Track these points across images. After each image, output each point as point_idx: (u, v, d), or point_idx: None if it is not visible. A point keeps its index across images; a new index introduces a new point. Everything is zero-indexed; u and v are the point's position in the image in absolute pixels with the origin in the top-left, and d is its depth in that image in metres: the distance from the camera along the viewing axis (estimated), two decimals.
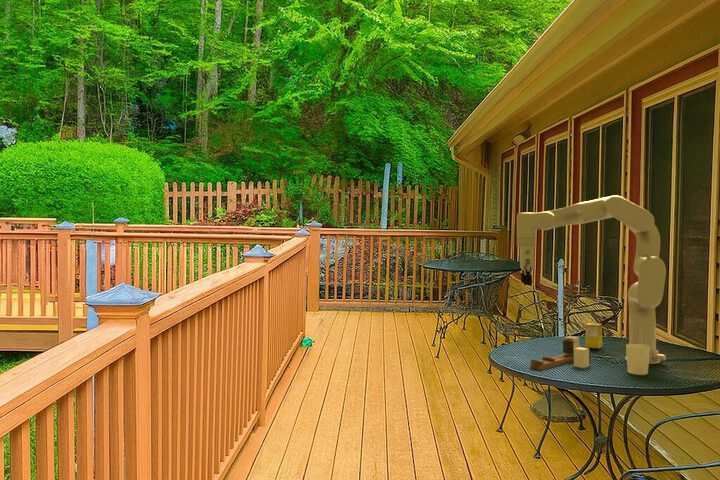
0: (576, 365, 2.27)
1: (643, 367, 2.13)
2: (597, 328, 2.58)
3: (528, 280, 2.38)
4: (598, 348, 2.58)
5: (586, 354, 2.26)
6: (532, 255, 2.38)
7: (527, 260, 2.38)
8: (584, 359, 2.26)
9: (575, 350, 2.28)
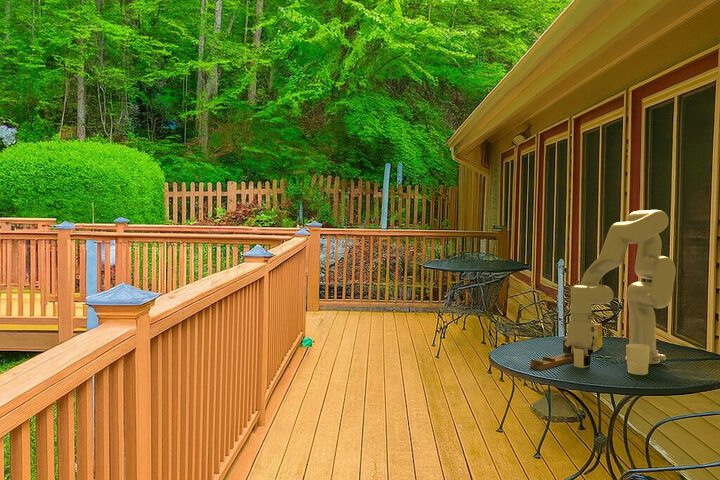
0: (576, 365, 2.27)
1: (643, 367, 2.13)
2: (597, 328, 2.58)
3: (589, 361, 2.25)
4: None
5: None
6: (595, 331, 2.25)
7: (593, 340, 2.24)
8: None
9: (575, 350, 2.28)
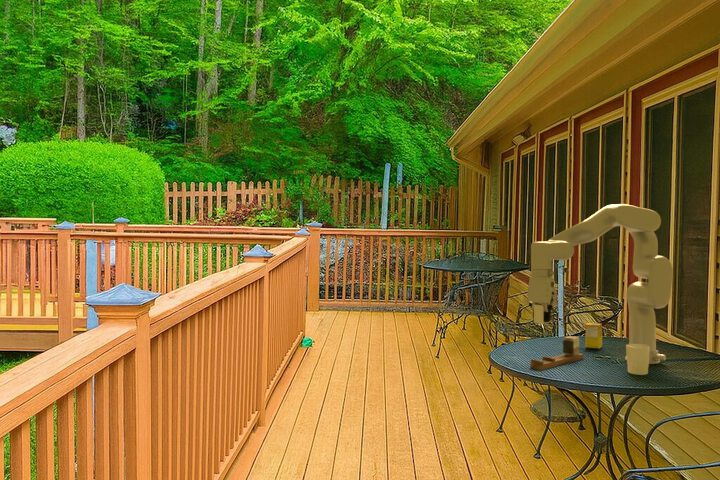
0: (536, 321, 2.26)
1: (643, 367, 2.13)
2: (597, 328, 2.58)
3: (549, 317, 2.24)
4: (598, 348, 2.58)
5: None
6: (555, 287, 2.24)
7: (552, 295, 2.23)
8: None
9: (535, 306, 2.27)
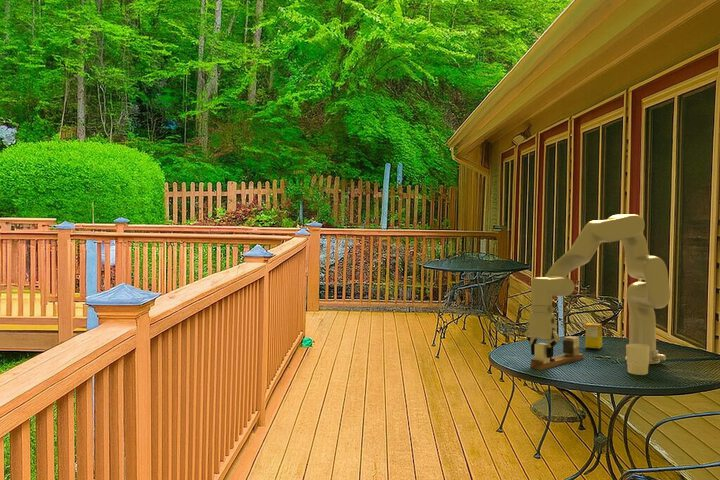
0: None
1: (643, 367, 2.13)
2: (597, 328, 2.58)
3: (552, 352, 2.24)
4: (598, 348, 2.58)
5: (546, 350, 2.26)
6: (555, 323, 2.24)
7: (553, 331, 2.23)
8: (544, 354, 2.25)
9: (536, 346, 2.27)
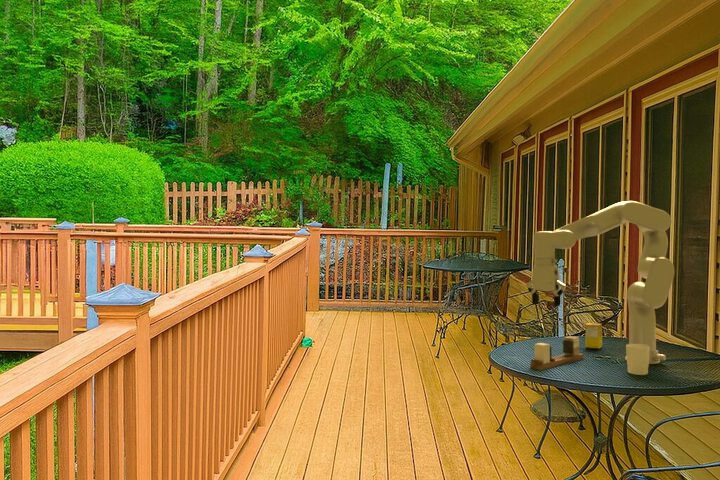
0: None
1: (643, 367, 2.13)
2: (597, 328, 2.58)
3: (559, 301, 2.30)
4: (598, 348, 2.58)
5: (546, 350, 2.26)
6: (558, 275, 2.32)
7: (557, 280, 2.30)
8: (544, 354, 2.25)
9: (536, 346, 2.27)
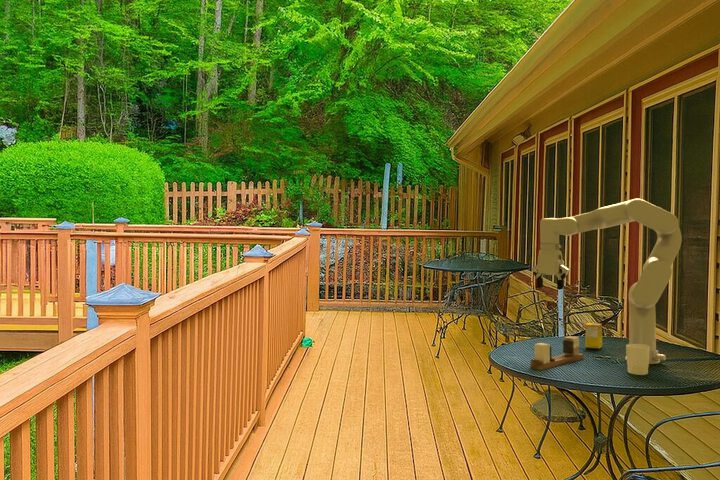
0: None
1: (643, 367, 2.13)
2: (597, 328, 2.58)
3: (562, 284, 2.43)
4: (598, 348, 2.58)
5: (546, 350, 2.26)
6: (562, 260, 2.45)
7: (561, 265, 2.43)
8: (544, 354, 2.25)
9: (536, 346, 2.27)
